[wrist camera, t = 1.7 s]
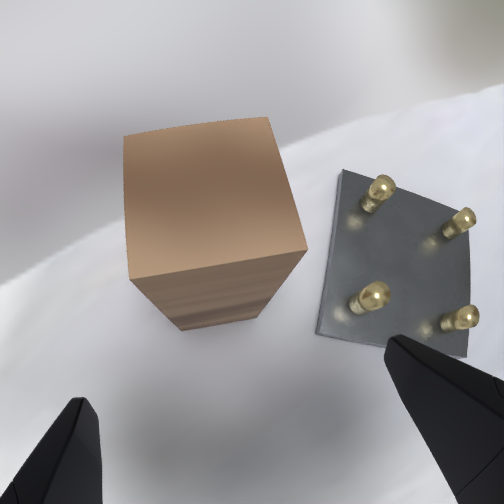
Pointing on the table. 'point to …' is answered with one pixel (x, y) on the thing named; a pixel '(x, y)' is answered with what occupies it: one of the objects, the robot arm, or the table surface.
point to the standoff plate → (397, 268)
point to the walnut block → (209, 220)
